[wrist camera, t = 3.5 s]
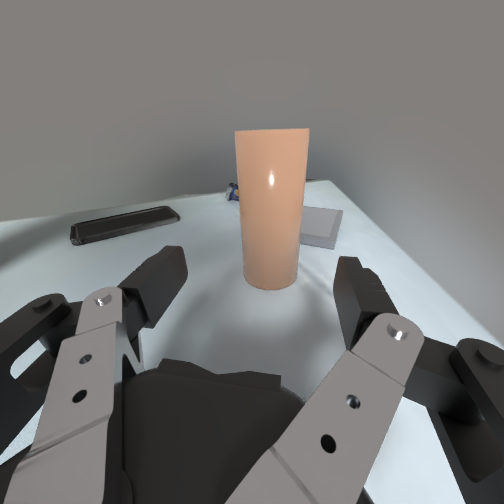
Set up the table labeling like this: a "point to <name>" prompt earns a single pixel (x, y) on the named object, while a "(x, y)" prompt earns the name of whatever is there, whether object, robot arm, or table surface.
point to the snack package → (232, 192)
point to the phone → (121, 224)
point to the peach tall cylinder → (271, 203)
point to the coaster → (320, 226)
